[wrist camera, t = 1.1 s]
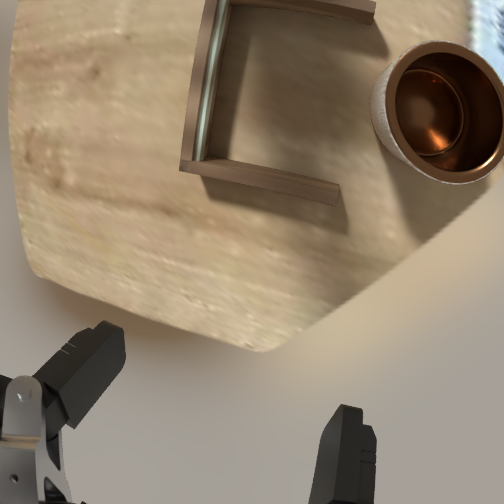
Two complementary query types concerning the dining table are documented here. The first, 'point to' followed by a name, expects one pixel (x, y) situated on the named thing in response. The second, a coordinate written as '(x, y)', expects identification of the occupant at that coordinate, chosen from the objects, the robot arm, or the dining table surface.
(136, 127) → the dining table surface
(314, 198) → the bay
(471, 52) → the planter
